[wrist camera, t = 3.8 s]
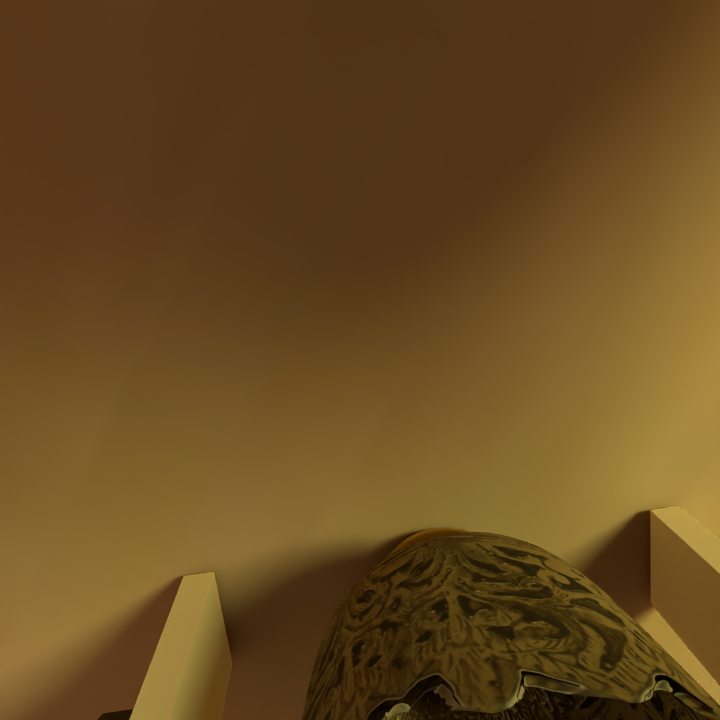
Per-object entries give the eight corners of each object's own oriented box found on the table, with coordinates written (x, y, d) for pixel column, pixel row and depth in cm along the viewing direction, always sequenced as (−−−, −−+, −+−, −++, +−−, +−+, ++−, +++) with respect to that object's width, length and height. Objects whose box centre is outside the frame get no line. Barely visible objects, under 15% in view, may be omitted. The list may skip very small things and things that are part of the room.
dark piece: (385, 744, 17) (439, 1199, 9) (236, 542, 15) (145, 892, 7) (625, 615, 16) (899, 981, 9) (499, 390, 15) (699, 594, 7)
